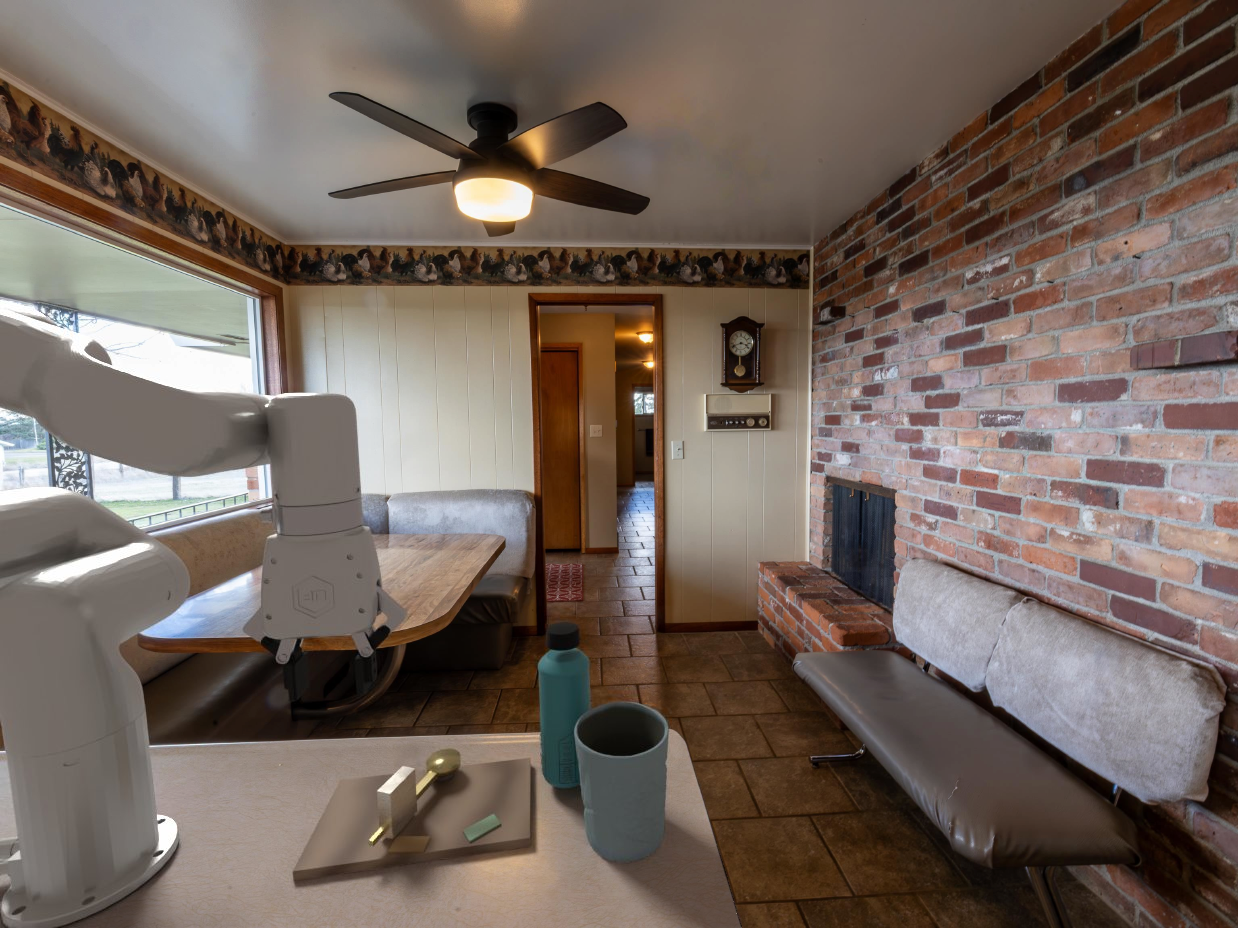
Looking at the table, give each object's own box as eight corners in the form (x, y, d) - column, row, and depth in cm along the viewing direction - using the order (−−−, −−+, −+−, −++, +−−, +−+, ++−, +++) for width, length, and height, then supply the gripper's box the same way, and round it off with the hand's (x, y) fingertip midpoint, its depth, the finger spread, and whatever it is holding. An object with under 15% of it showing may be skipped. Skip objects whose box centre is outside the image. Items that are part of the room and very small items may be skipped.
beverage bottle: (586, 804, 61) (582, 640, 59) (532, 797, 62) (527, 635, 60) (599, 767, 67) (596, 617, 65) (550, 761, 69) (546, 614, 67)
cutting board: (293, 880, 52) (291, 861, 51) (340, 787, 64) (339, 772, 64) (530, 846, 55) (529, 828, 55) (530, 764, 68) (530, 750, 68)
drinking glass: (675, 866, 52) (675, 754, 51) (574, 872, 52) (572, 759, 51) (662, 793, 63) (661, 698, 61) (577, 797, 62) (575, 701, 61)
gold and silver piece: (439, 759, 67) (437, 721, 67) (467, 764, 66) (465, 726, 66) (355, 849, 53) (352, 803, 53) (388, 858, 52) (385, 811, 52)
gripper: (200, 530, 47) (218, 721, 49) (402, 522, 50) (412, 702, 51) (245, 514, 54) (259, 680, 56) (419, 507, 57) (427, 666, 59)
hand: (332, 689), depth 54 cm, fingers open, 5 cm apart
